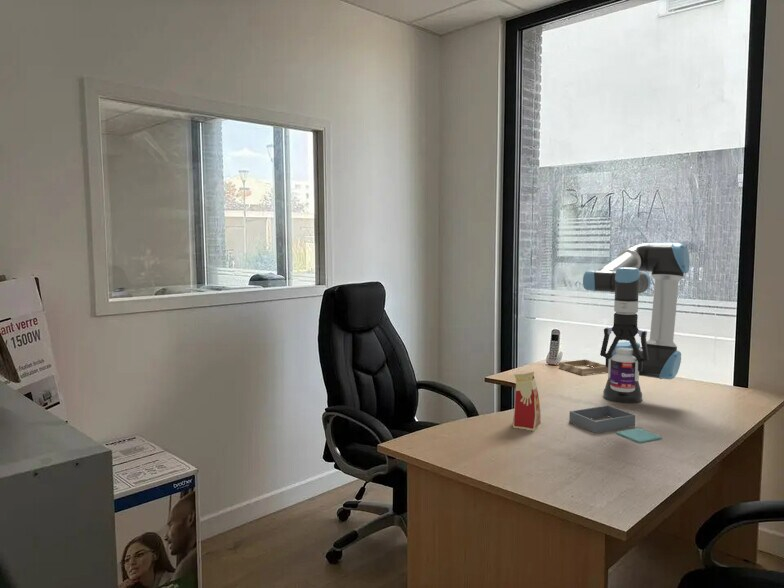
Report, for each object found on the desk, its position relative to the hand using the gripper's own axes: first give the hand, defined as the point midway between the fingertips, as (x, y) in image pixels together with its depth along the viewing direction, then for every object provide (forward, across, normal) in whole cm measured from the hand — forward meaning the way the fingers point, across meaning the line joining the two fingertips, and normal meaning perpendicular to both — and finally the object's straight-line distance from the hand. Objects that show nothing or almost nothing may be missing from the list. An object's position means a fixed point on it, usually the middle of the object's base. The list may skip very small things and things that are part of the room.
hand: (623, 378), depth 202 cm
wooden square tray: (+18, -37, +83) cm, 93 cm away
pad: (+19, +6, -2) cm, 20 cm away
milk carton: (+19, -30, -13) cm, 38 cm away
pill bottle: (+4, 0, 0) cm, 4 cm away
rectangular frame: (+18, -8, +4) cm, 20 cm away
